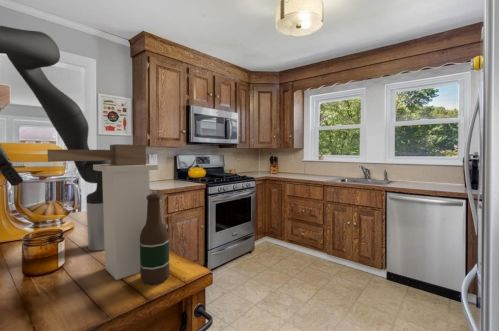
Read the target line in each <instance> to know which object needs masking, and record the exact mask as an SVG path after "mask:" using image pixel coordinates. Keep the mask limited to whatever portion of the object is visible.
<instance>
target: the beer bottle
mask: <svg viewBox="0 0 499 331" xmlns="http://www.w3.org/2000/svg"><path fill="white" fill-rule="evenodd" d="M161 198H162V197H161V195H160V194H159V193H150V195H147V198H146V199H147V200H148V202H147V220H146V224H145V226H144V227H143V229H142V231H141V234H140V272H139V273H140V279H141V282H142V284H143V285H147V286H155V285H158V284H162V283H164V282H166V280H168V279H169V277H170V237H169V232H168V230H167V227H166V226H165V225H164V223H163V221H162V220H163V219H162V213H161V202H160V199H161Z"/></svg>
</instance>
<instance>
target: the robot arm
mask: <svg viewBox="0 0 499 331" xmlns="http://www.w3.org/2000/svg"><path fill="white" fill-rule="evenodd" d="M0 54H2V55H3V54H4V55H6V57H7V58H8V60H9V61H10V63H11V64H12V65H13V67H14V68H15V70H16V71H17V73H19V75H20V77H21V78H22V79H23V81H24V82H25V83H26V85H27V86H28V87H29V89H30V90H31V92H32V93H33V94H34V96H35V97H36V99H37V101H38V103H39V104H40V106H41V107H42V109H43V110H44V113H45V114H46V116H47V118H48V119H49V121H50V123H51V124H52V126H53V127H54V129H55V131H56V132H57V133H58V135H59V138H60V139H61V141H63V143H64V145H65V147H66V150H91V149H90V147H89V143H88V139H89V131H90V130H89V123H88V121H87V119H86V116H85V114H84V112H83V111H82V109H81V106H79V105H78V103H76V102H75V100H74V99H72V98H71V97H70V96H68V95H67V94H66V93H64V92H63V91H61V90H60V89H59V88H58V87H56V86H55V85H54V84H53V83H52V82H51V81H50V80H49V79H48V77H47V76H46V74H45V73H44V72H43V69H42V68H47V67H52V66H54V65H56V64H58V63H59V62H60V59H61V53H60V49H59V47H58V45H57V43H56V41H55V40H54V39H53V38H52V37H51V36H50V35H48V33H47V34H46V33H45V32H43V31H38V30H29V29H28V30H27V29H22V28H14V27H8V26H4V25H0ZM73 162H74V165H75V167H76V170H77V171H78V174H79V175H80V177H81V178H82V180H84V182H86V183H89V184H96V187H95V188H96V189H95V190H94V191H93V192H90V193H88V194H87V195H86V197H85V198H86V218H87V219H86V222H87V224H86V226H87V250H88V251H93V252H95V251H105V244H104V213H103V181H102V171H97V170H93V165H104V164H110V160H100V161H73ZM0 173H1V175H3V177H4V178H5V179H6V181H7V182H8V183H9V184H10V186H12V187H15V186H17V185H20V184H22V183H23V181H24V180H23V177H22V176H21V175H20V174H19V172H18V171H17V170H16V169H15V167H14V165H13V162H11V161H10V158H9V155H8V153H7V151H6V150H5V149H4V148H3V147H2V145H1V143H0Z"/></svg>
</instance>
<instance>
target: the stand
mask: <svg viewBox="0 0 499 331" xmlns="http://www.w3.org/2000/svg"><path fill="white" fill-rule="evenodd" d="M158 167H159V165H158V164H154V163H153V164H152V163H151V164H150V163H146V165H126V166H115V165H110V164H104V165H93V170H97V171H102V181H103V213H104V244H105V250H104V266H105V268H104V269H105V270H106V271H107V272H108V273H109V274H110V275H111V276H112V277H113V278H114V279H115V280H116V281H117V280H120V279H124V278H126V277H131V276H133V275H136V274H138V273H140V234H141V231H142V229H143V227H144V226H145V224H146V220H147V202H148V200H147V199H146V198H147V195H150V194H151V192H150V171H156V170H157V171H158V170H159V168H158Z"/></svg>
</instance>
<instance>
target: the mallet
mask: <svg viewBox="0 0 499 331" xmlns="http://www.w3.org/2000/svg"><path fill="white" fill-rule="evenodd" d="M100 160H110V165H115V166H126V165H146V164H147V145H146V144H126V143H125V144H119V143H118V144H109V149H90V150H68V149H47V162H74V161H100Z"/></svg>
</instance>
